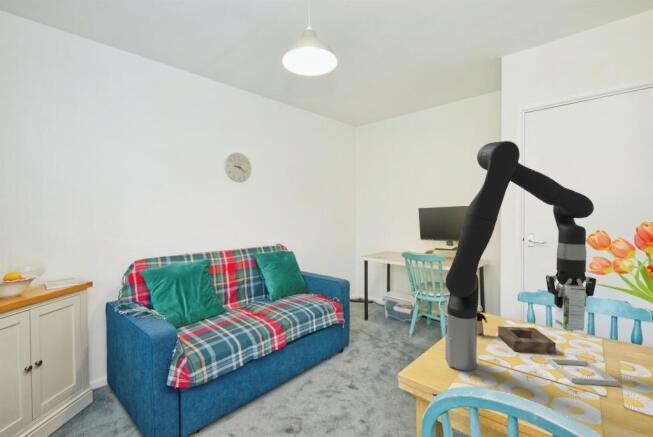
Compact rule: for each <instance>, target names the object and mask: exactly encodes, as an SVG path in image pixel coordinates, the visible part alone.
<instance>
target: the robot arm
mask: <svg viewBox="0 0 653 437" xmlns="http://www.w3.org/2000/svg"><path fill="white" fill-rule="evenodd" d="M520 154H521V153H520V149H519V146H518V145H517V144H516V143H515V142H513V141H512V140H511V141H509V140H504V141H502V140H501V141H494V142H489V143H485V144H484V145H483V146H481V148H479V150H478V152H477V155H476V159H477V163H478V165H479V167H480V168H482V169H483V170H485V171H486V175H485V178H484V182H483V184H482V186H481V188H480V190H479V191H478V193H477V194H476V195H475V197H473V199H472V201H471V202H470V204H469V205H468V207H467V208H466V212H465V215H464V217H463V218H464V219H463V222H462V225H461V230H460V232H459V233H460V234H459V237H458V242H457V249H456V251H455V256H454V258H453V261H452V263H451V266H450V267H449V270H448V272H447V275H446V277H445V287H446V289H447V291H448V293H449V297H448V298H449V299H448V303H447V305H446V306H447V308H446V309H447V310H446V312H447V316H446V317H447V319H446V321H447V322H446V323H447V326H446V329H447V330H446V331H445V346H444V347H445V349H444V350H445V358H444V359H445V361H446V363H447V364H448V366H449V368H454V369H457V370H460V371H464V372H465V371H466V372H467V371H468V372H469V371H474V370H476V369H477V363H478V362H477V358H478V357H477V354H478V352H477V350H478V349H477V347H478V346H477V345H478V342H477V340H478V339H477V338H478V336H477V308H478V305H479V290H480V289H479V288H480V286H479V277H478V275H477V274H478V273H477V272H478V268H479V264H480V261H481V259H482V256H483V255H484V253H485V251H486V249H487V247H488V245H489V243H490V240H491V238H492V236H493V233H494V230H495V227H496V224H497V220H498V217H499V214H500V211H501V207H502V206H503V201H504V198H505V196H506V192H507V189H508V187H509V184H510V182H511V183H513V184H515V185H516V186H518V187H519V188H521V189H523V190H525V191H526V192H528V193H529V194H531V195H532V196H534V197H535V198H536V199H538V200H539V201H541V202H542V203H544V204H546V205H548V206H553V207H552V213H553V216H554V221H555V225H556V227H557V231H558V236H557V249H556V273H555V274H554V275H548V274H546V275H545V281H546V287H547V288H546V289H547V292H548V293H549V294H551V295H553V296H554V298H553V300H554V301H553V304H554V305H555V307H556V306H557V307H558V308H562V297H561V296H562V294H563V291H564V288H565V285H578V286H583V287H586V291H585V307H586V306H587V298H588V297H593V296H594V294H595V289H596V284H597V278H595V277H591V276H586V272H587V246H586V244H587V243H586V242H587V240H586V239H587V237H586V236H587V230H586V228H585V227H584V226H582V225H578V224H577V223H576V221H575V220H576V219H586V218H587V217H589V216H591V215H592V214H593V212H594V209H595V208H594V207H595V206H594V203H593V201H592V200H591V199H590V198H589V197H588V196H587V195H584V194H582V193H581V192H578V191H575V190H573V189H570V188H567V187H565V186H563V185H562V184H560V183H559V182H557V181H555V179H553V178H551V177H549V176H548V175H545V174H544V173H542V172H539V171H538V170H537V171H536V170H534V169H532V168H530V167H528V166H525V165H523V164H521V163H520V162H519V160H520ZM556 280H557V282H558V284H557V282H556ZM555 283H556V284H555ZM584 283H585V286H584ZM559 284H561V285H563V286H562V287H560V286H559Z"/></svg>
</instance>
